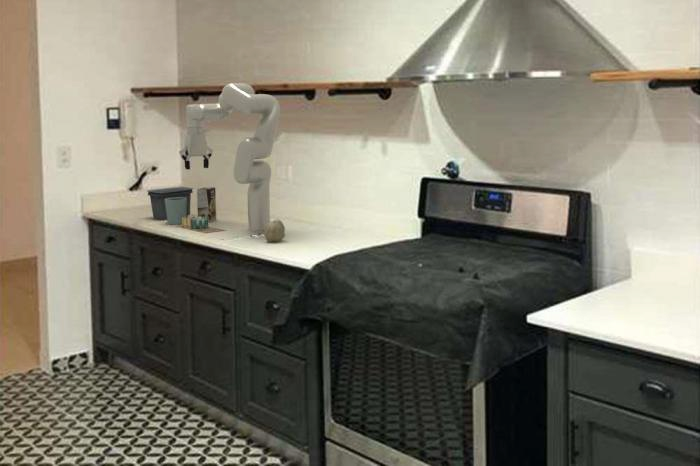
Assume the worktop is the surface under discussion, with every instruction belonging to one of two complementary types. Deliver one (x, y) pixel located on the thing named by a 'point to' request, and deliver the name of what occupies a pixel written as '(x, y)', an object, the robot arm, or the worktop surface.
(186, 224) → the brass gear
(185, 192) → the storage bin
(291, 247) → the worktop surface
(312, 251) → the worktop surface
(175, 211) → the grey green cup
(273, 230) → the tan rounded piece
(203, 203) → the coffee box
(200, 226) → the gear board
